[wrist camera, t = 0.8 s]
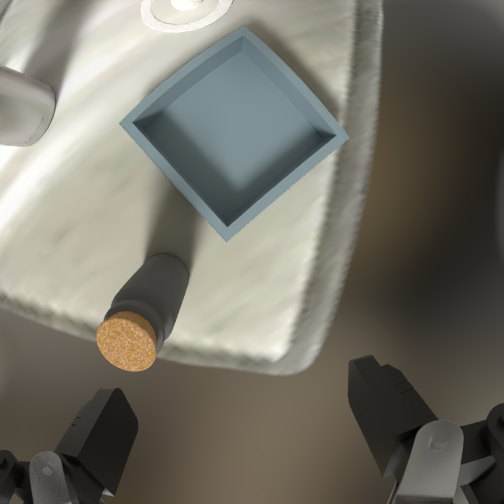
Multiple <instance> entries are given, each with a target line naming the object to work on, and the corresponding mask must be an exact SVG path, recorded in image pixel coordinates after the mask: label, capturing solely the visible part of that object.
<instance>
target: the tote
mask: <svg viewBox="0 0 504 504" xmlns="http://www.w3.org/2000/svg"><path fill="white" fill-rule="evenodd" d="M119 124H120V125H121V126H122V127H123V129H124V130H125V131H126V132H127V133H128V134H129V135H130V136H131V138H132V139H133V140H134V141H135V142H136V143H137V144H138V145H139V147H140V148H141V149H142V150H143V151H144V152H145V153H146V154H147V155H148V157H149V158H150V159H151V160H152V161H153V162H154V163H155V164H156V165H157V167H158V168H159V169H160V170H161V171H162V172H163V173H164V174H165V175H166V177H167V178H168V179H169V180H170V181H171V182H172V183H173V184H174V185H175V187H176V188H177V189H178V190H179V191H180V192H181V193H182V194H183V195H184V196H185V198H186V199H187V200H188V201H189V202H190V203H191V204H192V205H193V206H194V207H195V209H196V210H197V211H198V212H199V213H200V214H201V215H202V216H203V217H204V218H205V220H206V221H207V222H208V223H209V224H210V225H211V226H212V227H213V228H214V229H215V230H216V232H217V233H218V234H219V235H220V236H221V237H222V238H223V239H224V240H225V241H226V242H227V241H229V240H230V239H231V238H232V237H233V236H234V235H235V234H237V233H238V232H239V231H240V230H241V229H242V228H243V227H245V226H246V225H247V224H248V223H249V222H250V221H251V220H253V219H254V218H255V217H256V216H257V215H258V214H260V213H261V212H262V211H263V210H264V209H265V208H267V207H268V206H269V205H270V204H271V203H272V202H273V201H275V200H276V199H277V198H278V197H279V196H281V195H282V194H283V193H284V192H285V191H286V190H288V189H289V188H290V187H291V186H292V185H293V184H295V183H296V182H297V181H298V180H299V179H301V178H302V177H303V176H304V175H305V174H307V173H308V172H309V171H310V170H311V169H313V168H314V167H315V166H316V165H317V164H319V163H320V162H321V161H322V160H323V159H325V158H326V157H327V156H328V155H329V154H331V153H332V152H333V151H334V150H335V149H337V148H338V147H339V146H340V145H342V144H343V143H344V142H345V141H346V140H348V139H349V136H348V135H347V134H346V132H345V131H344V130H343V128H342V127H341V126H340V125H339V123H338V122H337V121H336V120H335V118H334V117H333V116H332V115H331V113H330V112H329V111H328V110H327V109H326V107H325V106H324V105H323V104H322V103H321V101H320V100H319V99H318V98H317V97H316V96H315V95H314V93H313V92H312V91H311V90H310V89H309V88H308V87H307V86H306V84H305V83H304V82H303V81H302V80H301V79H300V78H299V77H298V76H297V75H296V74H295V73H294V72H293V71H292V69H291V68H290V67H289V66H288V65H287V64H286V63H285V62H284V61H283V60H282V59H281V58H280V57H279V56H278V55H277V54H276V53H274V52H273V51H272V50H271V49H270V48H269V47H268V46H267V45H266V44H265V43H264V42H263V41H262V40H261V39H260V38H258V37H257V36H256V35H255V34H254V33H253V32H252V31H251V30H249V29H248V28H247V27H246V26H245V25H244V26H242V27H241V28H239V29H237V30H236V31H234V32H232V33H231V34H229V35H228V36H226V37H224V38H223V39H221V40H220V41H218V42H217V43H215V44H214V45H212V46H211V47H209V48H208V49H206V50H205V51H203V52H202V53H201V54H199V55H198V56H196V57H195V58H194V59H192V60H191V61H190V62H188V63H187V64H186V65H184V66H183V67H182V68H180V69H179V70H178V71H177V72H175V73H174V74H173V75H172V76H170V77H169V78H168V79H167V80H165V81H164V82H163V83H162V84H161V85H159V86H158V87H157V88H156V89H155V90H154V91H153V92H151V93H150V94H149V95H148V96H147V97H146V98H145V99H144V100H143V101H141V102H140V103H139V104H138V105H137V106H136V107H135V108H134V109H133V110H132V111H131V112H130V113H129V114H128V115H127V116H126V117H125V118H124V119H123V120H122V121H121V122H120V123H119Z"/></svg>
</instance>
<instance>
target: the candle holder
mask: <svg viewBox="0 0 504 504" xmlns="http://www.w3.org/2000/svg"><path fill="white" fill-rule="evenodd" d="M202 1H203V0H171V3H172V5H173V7H175V8H176V9H179V10H190V9H193V8H195V7H197V6H199V5H200V4H201V3H202ZM232 1H233V0H219V3H218V5H217V7H216V8H215V10H214V11H213V12H212V13H210V14H209V15H208V16H206V17H204V18H202V19H200V20H198V21H195V22H192V23H187V24H168V23H165V22H162V21H160V20H159V19H157V18H156V17H155V15H154V13H153V10H152V7H153V3H154V0H143V1H142V3H141V7H140V12H141V16H142V18H143V20H144V22H145V23H146V24H147V25H148V26H149V27H151V28H154V29H156V30H159V31H161V32H185V31H190V30H195V29H198V28H201V27H204V26H206V25H209V24H211V23H212V22H214V21H216V20H217V19H219V18H220V17H221V16H223V15H224V14H225V13H226V12H227V10H228V9H229V8H230V6H231V4H232Z"/></svg>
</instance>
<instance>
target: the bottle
mask: <svg viewBox="0 0 504 504" xmlns="http://www.w3.org/2000/svg"><path fill="white" fill-rule="evenodd" d="M188 280H189V277H188V272H187V269H186V267H185V265H184V264H183V263H182V262H181V261H180V260H179V259H178V258H176V257H175V256H173V255H170V254H157V255H155V256H152V257H151V258H149V259H148V260H147V261H146V262H145V263H144V264H143V265H142V266H141V267H140V268H139V270H138V271H137V272H136V273H135V274H134V275H133V276H132V277H131V278H130V279H129V280H128V281H127V283H126V284H125V285H124V286H123V287H122V288H121V289H120V291H119V292H118V293H117V294H116V296H115V297H114V299H113V301H112V304H111V308H110V309H109V310H108V312H107V313H106V315H105V317H104V321H103V322H102V323H101V324H100V326H99V328H98V330H97V343H98V346H99V349H100V351H101V352H102V354H103V355H104V356H105V358H106V359H107V360H108V361H110V362H111V363H112V364H113V365H115V366H117V367H119V368H121V369H123V370H127V371H141V370H145V369H147V368H148V367H150V366H151V365H152V363H153V362H154V360H155V358H156V354H158V353H159V351H160V350H161V348H162V346H163V343H164V341H165V340H166V339H167V338H168V337H169V335H170V334H171V332H172V330H173V327H174V324H175V322H176V319H177V316H178V313H179V310H180V307H181V304H182V301H183V298H184V295H185V292H186V289H187V286H188Z"/></svg>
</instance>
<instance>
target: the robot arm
mask: <svg viewBox="0 0 504 504" xmlns="http://www.w3.org/2000/svg"><path fill="white" fill-rule="evenodd" d="M54 108H55V96H54V92H53V90H52V88H51V87H50V86H49V85H47V84H45V83H43V82H41V81H39V80H36V79H34V78H32V77H30V76H27V75H25V74H22V73H20V72H18V71H15V70H13V69H10V68H8V67H5V66H3V65H0V145H6V146H21V147H26V146H30V145H32V144H34V143H35V142H36V141H38V140H39V139H40V138H41V136H42V135H43V134H44V133H45V131H46V130H47V128H48V126H49V124H50V122H51V119H52V116H53V113H54ZM348 370H349V371H348V399H349V404H350V408H351V410H352V412H353V414H354V416H355V418H356V421H357V423H358V425H359V427H360V429H361V431H362V434H363V436H364V438H365V440H366V442H367V444H368V447H369V449H370V451H371V453H372V455H373V458H374V460H375V462H376V464H377V466H378V469H379V471H380V473H381V475H382V477H383V478H384V477H386V476H389V475H392V474H393V475H394V476H395V479H396V481H397V482H396V484H395V486H394V489H393V491H392V494H391V496H390V499H389V501H388V503H387V504H454V503H453V498H454V493H455V489H456V487H458V486H460V487H461V488H462V490H463V492H464V494H465V496H466V498H467V500H468V502H469V504H504V403H502V404H499V405H497V406H495V407H494V408H493V409H492V410H491V411H490V413H489V414H488V416H487V419H486V420H483V421H480V422H476V423H473V424H469V425H466V426H458V425H457V424H455V423H454V422H451V421H448V420H439V419H438V418H437V417H436V416H435V414H434V413H433V412H432V411H431V409H430V408H429V407H428V405H427V404H426V403H425V402H424V400H423V399H422V398H421V396H420V395H419V394H418V393H417V392H416V390H414V388H413V386H412V385H411V384H410V383H409V382H408V381H407V379H406V378H405V377H404V375H403V374H402V373H401V371H400V370H398V369H396V368H394V367H392V366H390V365H389V364H387V365H384V366H380V365H379V363H378V362H377V361H376V359H375V358H374V357H373V356H372V355H367V356H364V357H360V358H357V359H353V360H350V361H349V369H348ZM137 432H138V420H137V417H136V415H135V414H134V412H133V410H132V408H131V406H130V404H129V403H128V401H127V399H126V397H125V395H124V393H123V391H122V390H121V389H119V388H105V387H101V388H99V389H98V391H97V393H96V394H95V396H94V397H93V399H91V400H90V401H88V402H87V403H86V404H85V405H84V406H83V407H81V409H80V411H79V412H78V414H77V415H76V418H75V419H74V420H73V422H72V423H71V426H70V427H69V428H68V430H67V431H66V433H65V435H64V436H63V438H62V439H61V441H60V443H59V445H58V446H57V448H56V450H55V451H54V452H43V453H40V454H38V455H37V456H35V457H34V458H33V460H32V461H31V462H23V461H18V459H17V458H16V457H15V456H14V455H13V454H12V453H11V452H10V451H8V450H1V451H0V504H9V501H10V499H11V497H12V495H13V493H14V494H15V495H16V496H17V497H18V498H20V499H21V500H22V501H23V502H24V503H23V504H104V502H103V501H102V500H101V499H100V498H101V496H102V494H106V495H110V496H115V494H116V491H117V488H118V485H119V482H120V479H121V476H122V474H123V471H124V468H125V465H126V462H127V460H128V457H129V454H130V451H131V449H132V446H133V443H134V440H135V438H136V435H137Z"/></svg>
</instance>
